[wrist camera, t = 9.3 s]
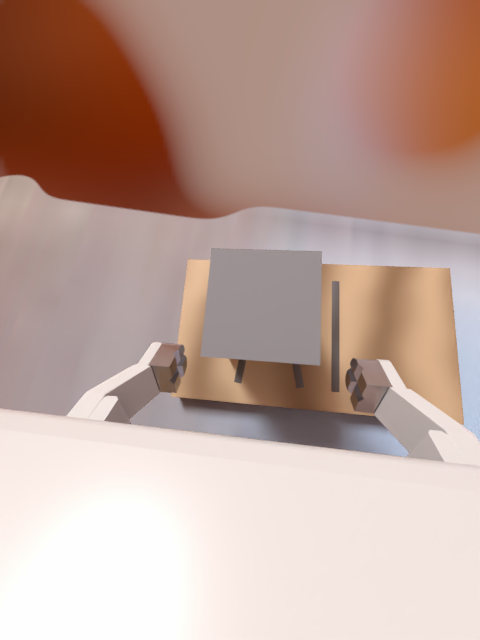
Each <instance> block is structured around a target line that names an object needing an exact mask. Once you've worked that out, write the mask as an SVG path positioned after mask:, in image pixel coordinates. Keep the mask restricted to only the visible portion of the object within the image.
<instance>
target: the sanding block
mask: <svg viewBox="0 0 480 640" xmlns="http://www.w3.org/2000/svg"><path fill="white" fill-rule="evenodd" d="M321 275H322V251H289V250H253V249H218V248H212V250H211V259H210V269H209V279H208V288H207V298H206V307H205V317H204V327H203V336H202V346H201V355H200V356H201V357H214V358H227V359H240V360H253V361H266V362H279V363H292V364H305V365H319V366H320V354H321Z"/></svg>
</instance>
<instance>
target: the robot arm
mask: <svg viewBox="0 0 480 640" xmlns="http://www.w3.org/2000/svg"><path fill="white" fill-rule="evenodd" d="M184 352H185V348H184V345H181V344H172V343H160V342H153V343H152V344H151V345H150V347H149V348H148V350H147V351H146V353H145V354H144V355H143V357H142V358H141V360H140V361H139V363H138V364H137V365H135V364H134V365H133V366H131V367H129V368H127V369H126V370H124V371H122V372H120V373H119V374H117V375H115V376H113V377H112V378H110V379H108V380H106V381H105V382H103V383H101V384H99V385H98V386H96V387H94V388H93V389H91V390H89V391H87V392H86V393H85V394H84V395H83V396H82V398H81V399H80V400H79V401H78V403H77V404H76V405H75V406H74V407H73V409H72V410H71V411H70V412H69V413H68V415H67V416H59V415H51V414H42V413H34V412H25V411H17V410H9V409H1V408H0V640H480V442H479V440H478V439H477V438H476V436H475V435H474V434H473V433H472V432H470V431H469V430H468V429H466V428H465V427H463V426H462V425H461V424H459V423H458V422H456V421H455V420H453V419H452V418H451V417H449V416H448V415H446V414H445V413H444V412H442V411H441V410H439V409H438V408H437V407H435V406H434V405H432V404H431V403H429V402H428V401H427V400H425V399H424V398H422V397H421V396H420V395H418V394H417V393H415V392H414V391H413V390H411V389H407V388H406V386H405V385H404V383H403V381H402V380H401V378H400V376H399V375H398V373H397V371H396V370H395V368H394V366H393V365H392V363H391V362H390V361H389V360H380V359H364V358H353V359H352V360H351V362H350V366H351V368H350V369H349V370H347V372H346V375H345V384H346V388H347V390H348V391H349V392H350V393H351V394H352V395H351V397H350V400H351V403H352V406H353V409H354V411H357V412H365V413H373V414H374V415H375V416H376V417H377V418H378V419H379V421H380V422H381V423H382V424H383V425H384V426H385V427H386V428H387V429H388V430H389V431H390V432H391V434H392V435H393V436H394V437H395V438H396V439H397V440H398V441H399V442H400V443H401V444H402V445H403V446H404V448H405V449H406V450H407V451H408V452H409V454H408V455H407V456H406V457H401V456H393V455H384V454H376V453H368V452H359V451H351V450H343V449H334V448H326V447H317V446H309V445H301V444H292V443H284V442H275V441H267V440H259V439H250V438H242V437H234V436H225V435H217V434H209V433H200V432H192V431H184V430H175V429H167V428H159V427H150V426H142V425H134V424H131V422H130V420H129V419H130V418H131V417H133V416H134V415H135V414H136V413H137V412H138V411H139V410H141V409H142V408H143V407H144V406H145V405H146V404H148V403H149V402H150V401H151V400H152V399H153V398H154V397H156V396H157V395H158V394H159V393H160V392H169V393H177V391H178V388H179V386H180V384H181V379H180V378H181V377H182V376H184V374H185V372H186V368H187V358H186V356H185V355H184Z"/></svg>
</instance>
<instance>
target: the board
mask: <svg viewBox="0 0 480 640" xmlns="http://www.w3.org/2000/svg"><path fill="white" fill-rule="evenodd" d="M209 269H210V260H189V259H188V264H187V272H186V280H185V288H184V296H183V304H182V312H181V320H180V328H179V336H178V344H181V345H184V348H185V352H184V355H185V356H186V358H187V368H186V372H185V374H184V376H182V377H181V378H180V379H181V384H180V386H179V388H178V391H177V393H171V397H181V398H192V399H202V400H213V401H223V402H233V403H244V404H254V405H264V406H275V407H285V408H296V409H306V410H316V411H327V412H337V413H348V414H358V415H368V416H375V415H374V414H373V413H365V412H357V411H354V409H353V406H352V403H351V400H350V397H351V395H352V394H351V393H350V392H349V391H348V390H347V388H346V384H345V375H346V372H347V370H349V369H350V368H351V366H350V362H351V360H352V359H353V358H364V359H380V360H389V361H390V362H391V363H392V365H393V366H394V368H395V370H396V371H397V373H398V375H399V376H400V378H401V380H402V381H403V383H404V385H405V386H406V388H407V389H411V390H413V391H414V392H415V393H417V394H418V395H420V396H421V397H422V398H424V399H425V400H427V401H428V402H429V403H431V404H432V405H434V406H435V407H437V408H438V409H439V410H441V411H442V412H444V413H445V414H446V415H448V416H449V417H451V418H452V419H453V420H455V421H456V422H458V423H459V424H462V425H464V419H463V408H462V397H461V386H460V375H459V364H458V353H457V342H456V331H455V320H454V309H453V298H452V287H451V277H450V268H423V267H394V266H365V265H335V264H322V275H321V354H320V366H319V365H305V364H292V363H279V362H266V361H253V360H240V359H227V358H214V357H201V356H200V355H201V346H202V336H203V327H204V317H205V307H206V298H207V288H208V279H209Z"/></svg>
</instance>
